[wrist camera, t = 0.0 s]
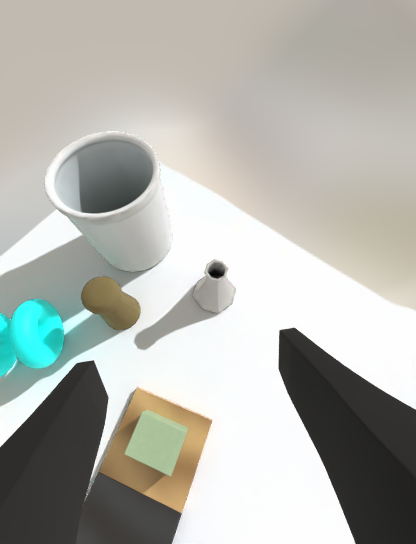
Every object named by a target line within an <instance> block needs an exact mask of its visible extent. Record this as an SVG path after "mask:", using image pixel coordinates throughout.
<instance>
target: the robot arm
mask: <svg viewBox="0 0 416 544" xmlns="http://www.w3.org/2000/svg"><path fill="white" fill-rule="evenodd" d="M279 371H280V374H281V376H282V379H283V382H284V384H285V387H286V390H287V392H288V394H289V396H290V398H291V400H292V402H293V404H294V406H295V408H296V410H297V412H298V414H299V416H300V418H301V420H302V422H303V424H304V426H305V428H306V430H307V432H308V434H309V436H310V438H311V440H312V442H313V444H314V445H315V447H316V449H317V451H318V453H319V455H320V458H321V460H322V462H323V464H324V466H325V468H326V471H327V473H328V476H329V478H330V481H331V483H332V485H333V488H334V490H335V493H336V495H337V497H338V500H339V502H340V505H341V507H342V510H343V513H344V515H345V518H346V520H347V523H348V525H349V528H350V530H351V533H352V535H353V538H354V540H355V543H356V544H416V410H415V409H413V408H411V407H410V406H408V405H406V404H404V403H403V402H401V401H399V400H398V399H396V398H394V397H392V396H391V395H389V394H387V393H385V392H384V391H382V390H381V389H379V388H377V387H376V386H374V385H373V384H371V383H370V382H368V381H366V380H365V379H363V378H362V377H360V376H359V375H357V374H356V373H354V372H353V371H351V370H350V369H349V368H347V367H346V366H344V365H343V364H342V363H340V362H339V361H337V360H336V359H335V358H333V357H332V356H331V355H329V354H328V353H327V352H325V351H324V350H323V349H321V348H320V347H319V346H317V345H316V344H315V343H314V342H312V341H311V340H310V339H308V338H307V337H306V336H305V335H303V334H302V333H301V332H299V331H298V330H297V329H296V328H290V329H284V330H280V333H279ZM107 405H108V395H107V393H106V390H105V388H104V385H103V383H102V380H101V378H100V375H99V373H98V370H97V368H96V365H95V363H94V360H93V361H87V362H81V363H77V364H76V365H75V366H74V367H73V368H72V369H71V370H70V371H69V373H68V374H67V375H66V376H65V377H64V378H63V379H62V381H61V382H60V383H59V384H58V385H57V386H56V388H55V389H54V390H53V391H52V392H51V393H50V394H49V395H48V397H47V398H46V399H45V400H44V401H43V402H42V403H41V404H40V406H39V407H38V408H37V409H36V410H35V411H34V412H33V413H32V415H31V416H30V417H29V418H28V419H27V420H26V421H25V422H24V423H23V424H22V425H21V426H20V427H19V428H18V429H17V430H16V431H15V432H14V434H13V435H12V436H11V437H10V438H9V439H8V440H7V441H6V442H5V443H4V444H3V445H2V446H1V447H0V544H76V540H77V534H78V529H79V523H80V518H81V513H82V509H83V505H84V500H85V496H86V493H87V489H88V485H89V482H90V478H91V474H92V471H93V467H94V463H95V460H96V456H97V452H98V448H99V445H100V441H101V437H102V433H103V429H104V425H105V419H106V412H107Z"/></svg>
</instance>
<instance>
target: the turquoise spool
mask: <svg viewBox="0 0 416 544" xmlns="http://www.w3.org/2000/svg"><path fill="white" fill-rule="evenodd" d="M63 343H64V330H63V325H62V321H61V318H60V316H59V314H58V312H57V310H56V309H55V308H54V307H53V306H52V305H51V304H50V303H49V302H47V301H45V300H42V299H31V300H28V301H26V302H24V303H22V304H21V305H20V306H19V307H18V308H17V309H16V310H15V312H14V314H13V316H12V318H11V320H10V319H9V318H8V317H7V316H5V315H4V314H2V313H0V377H1V376H3V375H4V374H6V373H7V372H8V371H9V370H10V368H11V367H12V366H13V364H14V363H15V361H16V358H18V360H19V361H20V362H21V363H23V364H24V365H26V366H28V367H30V368H34V369H42V368H45V367H48V366H50V365H51V364H53V363H54V362H55V361H56V360H57V358H58V357H59V355H60V353H61V351H62V348H63Z"/></svg>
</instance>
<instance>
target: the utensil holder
mask: <svg viewBox="0 0 416 544" xmlns="http://www.w3.org/2000/svg"><path fill="white" fill-rule="evenodd" d="M44 183H45V184H44V185H45V191H46V194H47V196H48V198H49V200H50V201H51V202H52V204H53V205H54V206H55V207H56V208H57V209H58V210H59V211H60V212H61V213H62V214H64V215H65V216H67V217H68V218H69V220H70V221H71V222H72V223H73V224H74V225H75V226H76V227H77V229H78V230H79V231H80V232H81V233H82V234H83V235H84V237H85V238H86V239H87V240H88V241H89V242H90V243H91V244H92V245H93V247H94V248H95V249H96V250H97V251H98V252H99V253H100V254H101V255H102V256H103V257H104V258H105V259H106V260H107V261H108V262H109V263H110V264H111V265H113V266H114V267H116V268H118V269H120V270H124V271H130V272H135V271H142V270H146V269H149V268H151V267H153V266H155V265H156V264H158V263H159V262H160V261H162V260H163V259H164V257H165V256H166V255H167V254H168V252H169V250H170V248H171V245H172V240H173V234H172V228H171V222H170V217H169V212H168V208H167V204H166V200H165V195H164V190H163V185H162V181H161V169H160V164H159V160H158V157H157V154H156V152H155V151H154V149H153V148H152V147H151V146H150V144H149V143H147V142H146V141H145V140H143V139H142V138H140V137H138V136H136V135H133V134H130V133H126V132H118V131H107V132H100V133H95V134H92V135H89V136H85V137H83V138H81V139H79V140H77V141H75V142H73V143H71V144H69V145H68V146H67V147H65V148H64V149H63V150H61V151H60V152H59V153H58V154H57V155H56V156H55V158H54V159H53V160H52V162H51V163H50V165H49V166H48V168H47V171H46V174H45V179H44Z"/></svg>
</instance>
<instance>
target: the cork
mask: <svg viewBox="0 0 416 544" xmlns="http://www.w3.org/2000/svg"><path fill="white" fill-rule="evenodd" d="M81 299H82V303H83V305H84V306H85V308H86V309H87V310H89V311H90V312H92V313H94V314H100V316H101V317H102V318H103V319H104V320H105V322H106V323H107V324H108V325H109V326H110V327H111V328H113V329H116V330H125V329H128V328H130V327H131V326H133V325H134V324H135V323H136V322H137V320H138V319H139V316H140V306H139V303H138V302H137V300H136V299H134V298H133V297H131V296H129V295H128V294H126V293H124V292H123V291H122V290H121V287H120V286H119V284H118V283H117V282H116V281H115V280H113V279H112V278H109V277H105V276H103V277H97V278H94V279H92V280H90V281H89V282H88V283H87V284H86V285H85V286H84V288H83V291H82V295H81Z"/></svg>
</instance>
